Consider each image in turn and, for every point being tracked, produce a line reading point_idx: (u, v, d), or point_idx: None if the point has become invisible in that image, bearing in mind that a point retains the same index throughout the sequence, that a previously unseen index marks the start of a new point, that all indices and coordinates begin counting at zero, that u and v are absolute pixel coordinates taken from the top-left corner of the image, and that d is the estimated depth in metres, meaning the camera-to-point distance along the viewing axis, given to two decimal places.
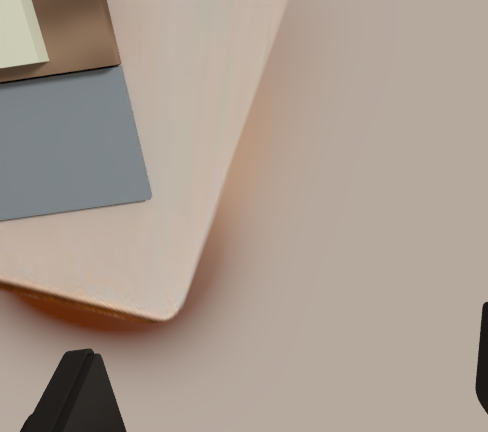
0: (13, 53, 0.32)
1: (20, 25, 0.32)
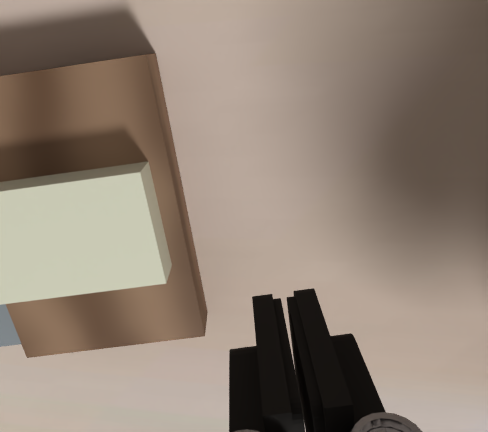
0: (2, 274, 0.22)
1: (43, 289, 0.22)
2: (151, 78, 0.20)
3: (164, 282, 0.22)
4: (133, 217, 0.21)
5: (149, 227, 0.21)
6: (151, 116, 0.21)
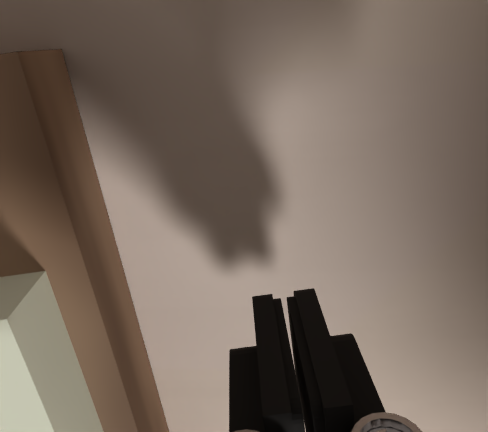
0: None
1: None
2: (36, 104, 0.09)
3: None
4: (4, 403, 0.10)
5: (42, 419, 0.10)
6: (43, 184, 0.10)
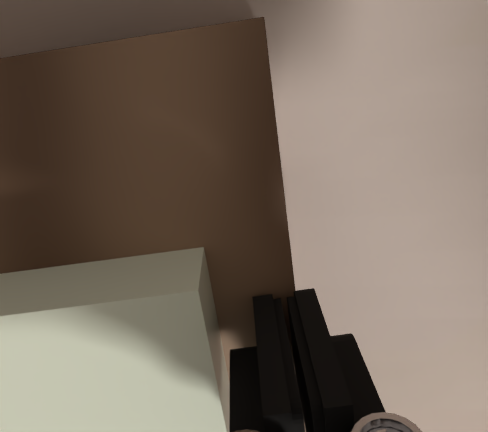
0: None
1: None
2: None
3: None
4: (178, 377, 0.10)
5: (212, 394, 0.10)
6: (263, 153, 0.10)
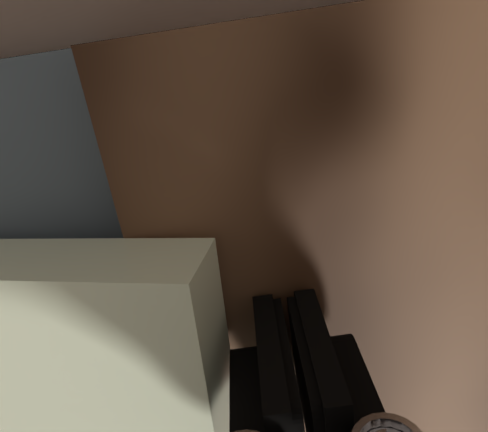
0: None
1: None
2: None
3: None
4: (167, 370, 0.09)
5: (201, 394, 0.09)
6: None
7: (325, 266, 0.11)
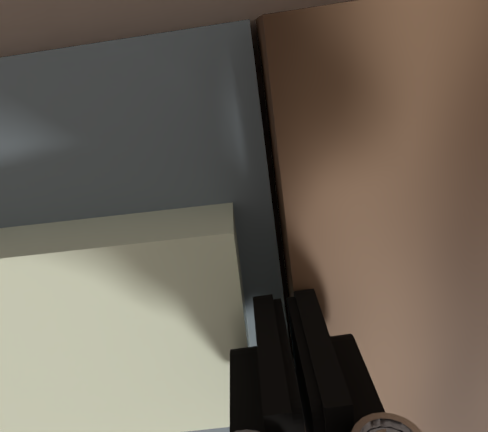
0: None
1: None
2: None
3: None
4: (210, 315, 0.11)
5: (240, 331, 0.11)
6: None
7: (482, 245, 0.11)
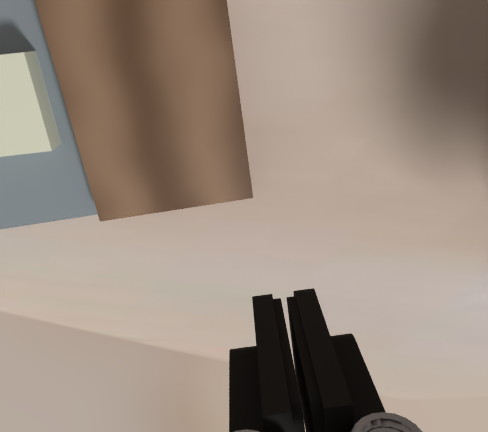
0: None
1: None
2: None
3: (50, 149, 0.28)
4: (20, 91, 0.26)
5: (34, 100, 0.27)
6: None
7: (134, 63, 0.27)
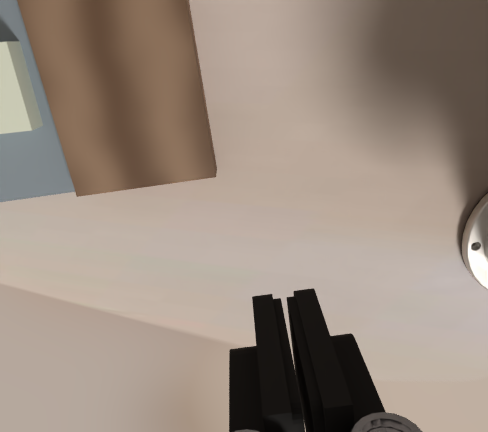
0: None
1: None
2: None
3: (30, 129, 0.31)
4: (4, 76, 0.30)
5: (16, 84, 0.30)
6: None
7: (104, 51, 0.30)
